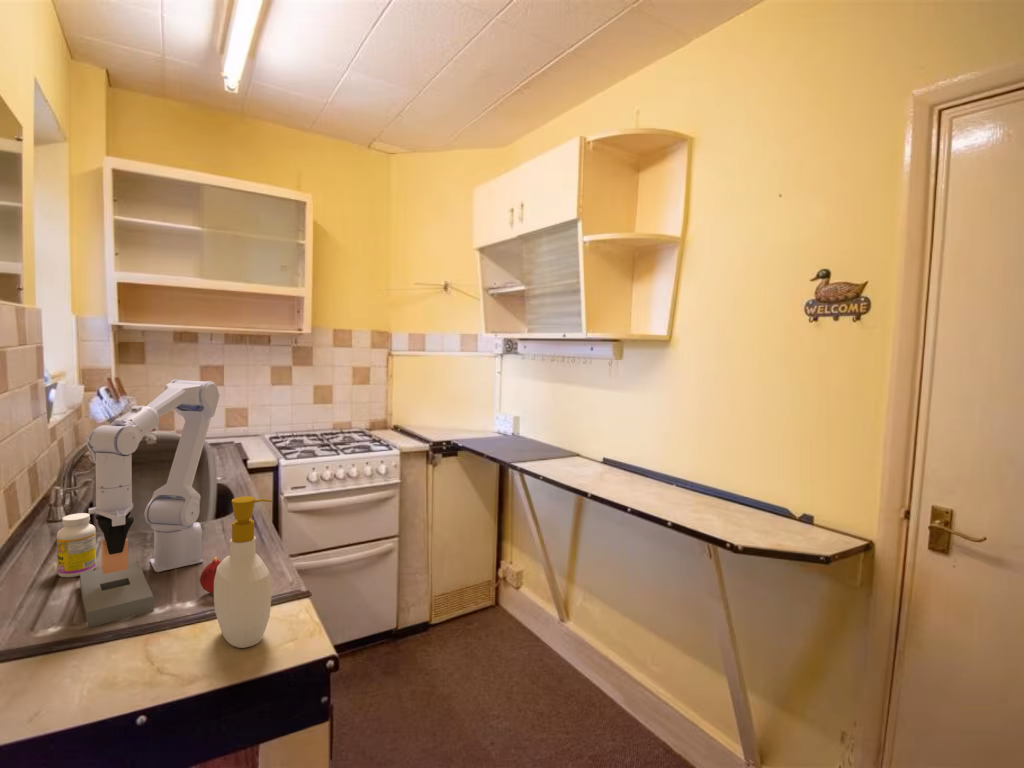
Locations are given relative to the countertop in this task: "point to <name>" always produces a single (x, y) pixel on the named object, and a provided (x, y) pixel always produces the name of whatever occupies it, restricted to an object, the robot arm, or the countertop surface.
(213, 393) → the robot arm
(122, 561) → the plug
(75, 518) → the supplement bottle
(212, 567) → the onion
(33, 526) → the countertop surface
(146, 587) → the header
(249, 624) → the soap bottle
